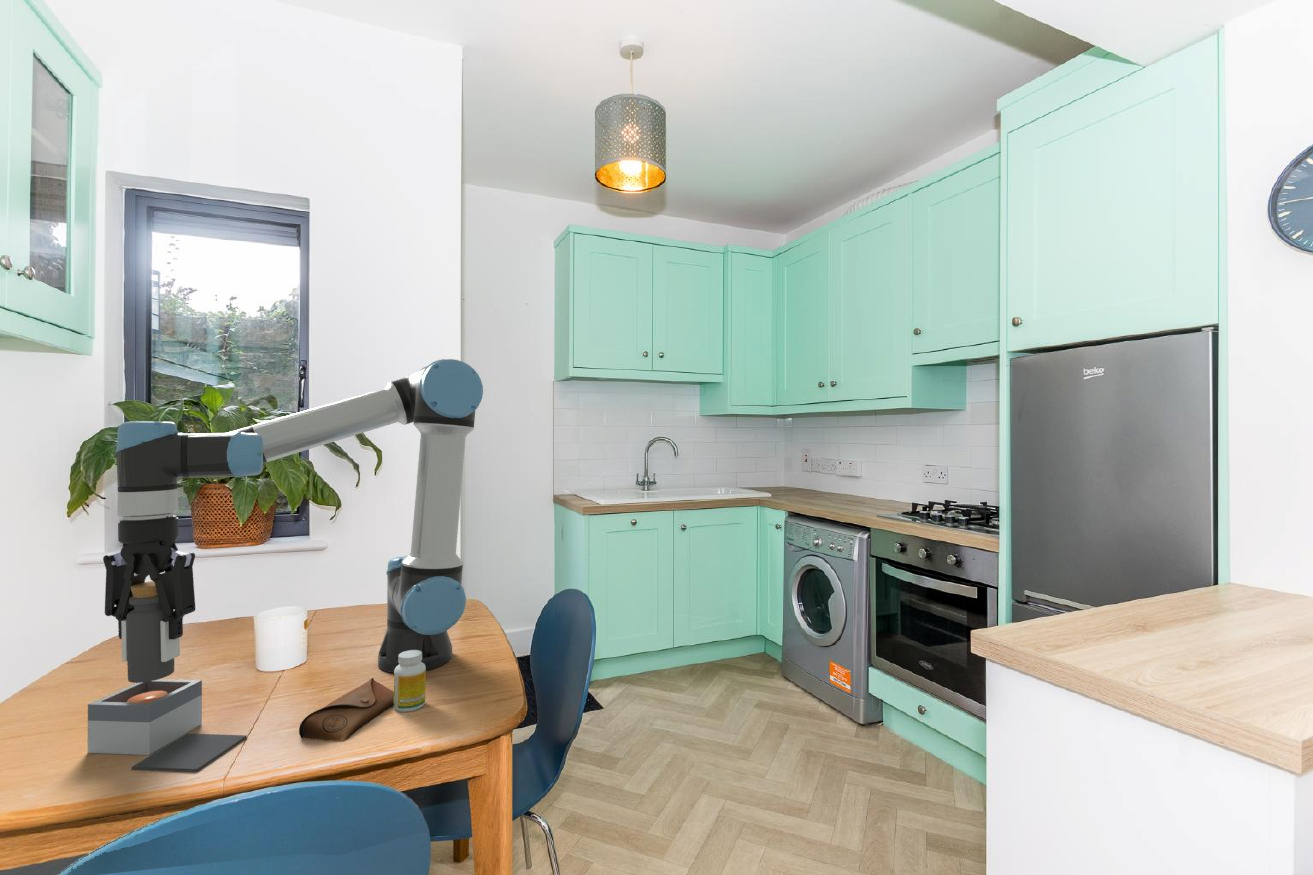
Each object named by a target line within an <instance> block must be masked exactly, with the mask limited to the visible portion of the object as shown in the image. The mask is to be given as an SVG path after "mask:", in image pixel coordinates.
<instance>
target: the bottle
mask: <svg viewBox="0 0 1313 875" xmlns="http://www.w3.org/2000/svg"><path fill="white" fill-rule="evenodd" d="M131 591H132V594H133V596H132V597H130V599H129V603H130V604H131V605H134V610H132V611H131V612H129V613H128V614H127V661H126V662H127V681H128V682H129V683H131V684H135V683H142V682H149V681H154V680H158V679H165V678H166V677H169V676H171V675H172V674H173V673H174V672H175V658H173V659H171V660H169V661H166V662H161V626H160V621H162V619H164V618H165V614H164V611H163V608H162V605H161V602H160V598H159V595H158V592H157V589H156V586H155V582H154V581H152V580H150V581H145V582H144V583H140V584H136V585H133V586H131Z"/></svg>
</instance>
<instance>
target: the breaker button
mask: <svg viewBox="0 0 1313 875" xmlns="http://www.w3.org/2000/svg"><path fill="white" fill-rule="evenodd" d="M165 695H167V692H166V691H151V692H146V693H142V694H139V695H136V696H134V697H131V698H130V699H128V701H127V703H151V702H153V701H155V700H157V699H159V698H161V697H163V696H165Z"/></svg>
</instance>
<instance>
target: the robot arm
mask: <svg viewBox="0 0 1313 875" xmlns="http://www.w3.org/2000/svg"><path fill="white" fill-rule="evenodd" d="M483 395H484V386H483V382H482V379H481V377H480V376H479V373H478V372H477V370H475V369H474V368H473V367H472V366H471V365H470V364H468V363H466V362H464V361H463V360H458V359H454V358H448V359H447V358H446V359H445V358H442V359H438V360H435V361H433V362H431V363H430V364H428V365H426V366H424V367H422V368H420V369H419V370H417V371H415V372H413V373H411V374H408V375H407V376H404V377H403V378H400V379H397V380H391V381H390V382H388V383H387V384H386V387H385V388H381V389H378V390H374V391H371V392H367V393H364V394H360V395H356V396H354V397H349V398H346V399H343V400H338V401H335V402H332V403H329V404H324V405H321V406H317V407H314V408H309V409H306V410H303V411H299V412H296V413H292V414H288V415H286V416H280V417H277V418H274V419H271V420H267V421H263V422H260V423H257V424H253V425H250V426H246V427H242V428H238V429H235V430H231V431H229V432H213V433H211V432H210V433H209V432H208V433H186V432H185V433H183V432H179V430H178V426H177V424H176V422H173V421H125V422H123V423H121V424H120V425H118V427H117V437H116V439H117V440H116V441H117V442H116V448H115V454H116V474H117V476H116V477H117V478H116V479H117V516H118V517H120V518H122V519H119V521H118V522H117V539H118V540H117V541H118V542H119V543H120V544H122V548H121V549H120V551H119V552H115V553H111V554H105V555H104V556H103V557H102V560H103V564H104V567H105V590H104V592H105V593H104V594H105V595H104V615H105V616H107V617H114V618H115V619H116V620H117V623H118V624H117V625H118V626H117V627H118V638H119V640H121V661H122V662H127V614H128V613H129V612H131V611H132V610H134V605H131V604H130V603H129V599H130V597H132V596H133V594H132V591H131V586H133V585H136V584H140V583H144V582H146V578H148V577H149V579H150V581H154V582H155V586H156V589H157V592H158V595H159V598H160V602H161V605H162V608H163V611H164V614H165V618H164V619H162V621H160V626H161V662H166V661H169V660H171V659H173V658H174V659H175V658H179V657H180V656H181V654H180V653H181V652H180V651H181V650H180V647H181V646H180V638H181V637H182V636H183V635H184V630H183V629H184V627H183V625H184V622H183V620H184V617H185V616H186V615H188V614H191V613H194V612H195V611H196V599H195V596H196V594H195V583H194V582H195V581H194V571H193V570H194V569H193V565H194V564H195V563H194V562H195V559H196V553H195V552H192V551H191V552H183V551H180V550H179V549H178V546H177V544H176V539H177V538H178V537H179V517H177V515H176V514H175V513H177V512H178V511H179V507H178V506H179V499H178V497H179V496H178V493H179V492H178V489H179V486H178V480H179V479H190V478H191V479H192V478H193V479H194V478H197V479H198V478H199V479H200V478H230V477H231V478H232V477H236V478H243V477H248V476H250V477H251V476H257V475H260V474H261V473H262V472H263V470H264V464H265V463H268V462H272V461H274V460H275V461H276V460H278V459H281V458H285V457H287V456H291V455H295V454H298V453H301V452H304V451H307V450H310V449H314V448H318V447H321V446H324V445H327V444H331V443H333V442H337V441H340V440H344V439H347V438H350V437H354V436H357V435H359V434H364V433H366V432H371V431H373V430H376V429H379V428H383V427H385V426H390V425H393V424H395V423H396V424H397V423H398V424H401V425H404V426H405V425H409V424H411V423H413V425H414V427H415V428H416V429H417V430H418V432H419V433H420V440H419V449H418V450H419V451H418V463H417V474H416V486H415V487H416V488H415V498H414V510H413V511H414V512H413V522H412V523H413V524H412V534H411V546H410V552H409V554H408V555H404V556H398V557H393V558H390V559H389V561H388V563H387V570H386V575H387V580H386V581H387V583H386V584H387V585H386V588H387V590H386V591H387V592H386V596H387V597H386V600H387V601H386V602H387V603H386V604H387V605H386V607H387V608H386V609H387V610H386V612H387V613H386V630H385V634H384V636H383V639H382V642H381V644H380V648H379V651H378V654H377V666H378V668H379V669H380V670H382V671H384V672H387V673H393V674H394V670H395V668H396V667H397V666H398V665H399V662H398V656H399V654H400V653H402V652H405V651H409V650H419V651H421V652H422V660H421V661H420V662H422V663H424V664H425V666H426V671H429V670H432V669H436V668H439V667H441V666H443V665H445V664H447V663H448V662H450V661H451V659H452V657H453V645H452V642H451V638H450V636H449V633H448V630H450V629H451V628H453V627H454V626H455V625H456V624H457V623H458V622H459V621H460V619H461V618H462V616H463V614H464V613H465V610H466V606H467V596H466V592H465V588H464V587H463V585H462V580H463V579H462V578H463V567H464V561H463V560H462V559H461V558H460V557H459V555H458V554H457V547H458V546H457V544H458V534H459V521H460V520H459V519H460V507H461V498H462V497H461V495H462V485H463V484H462V482H463V472H464V460H465V450H466V449H465V448H466V437H467V436H468V435H469V434H470V433H471V432H473V431H474V430H475V420H476V410H478V408H479V406H480V404H481V402H482V400H483ZM174 514H175V515H174Z"/></svg>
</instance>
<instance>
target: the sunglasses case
mask: <svg viewBox="0 0 1313 875" xmlns="http://www.w3.org/2000/svg"><path fill="white" fill-rule="evenodd" d="M392 707H394V690H393V689H390V688H389V687H386V686H385V685H383V684H381V683H380V682H378V681H377V680H376V681H375V680H374V677H372V678H370V679H369V680H367V681H366V682H364V683H363V684H361V685H360V686H357V687H355V688H354V689H352V690H350V691H349V692H347V693H344V694H343V695H341V696H339V697H338V698H336V699H335V700H333V701H331V702H330V703H328V704H326V705H325V706H323V707H320V708H319V709H317V710H315V711H313V712H311V713H310V714H308V715H307V716H306V717H305V718H303V720H302V721H301V722H300V724H299V728H298V732H299V737H300V739H301V738H302V739H304V738H305V740H315V739H317V740H316V741H318V740H319V741H326V742H327V741H328V742H339V743H342V742H346V740H348V739H349V738H350V737H352V735H354V734H355V733H356V732H357V731H359V730H360V729H361V728H363V727H364V726H366V725H367V724H368V723H370V722H371V721H373V720H374V719H376V718H377V717H378V716H380V715H382V714H383V713H385V712H386V711H388V710H389V709H390V708H392Z"/></svg>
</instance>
